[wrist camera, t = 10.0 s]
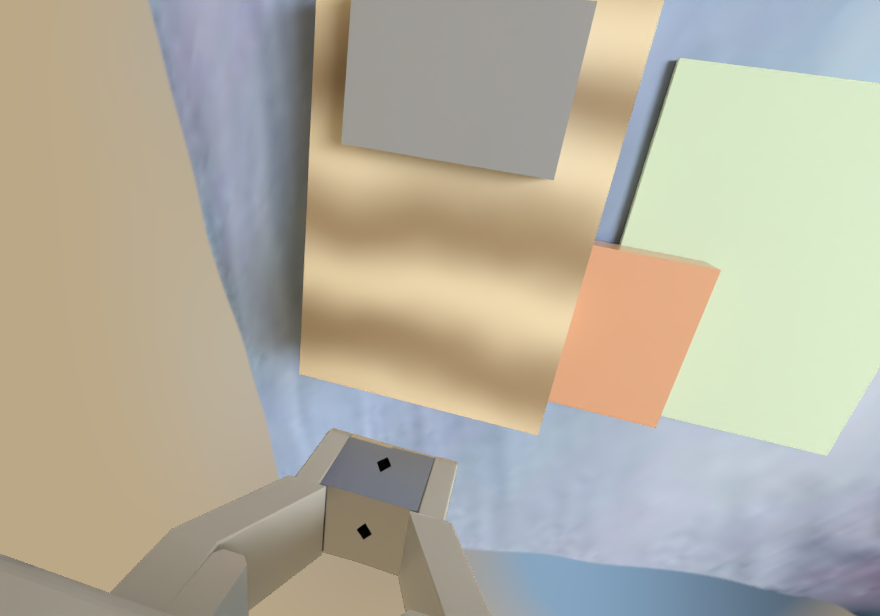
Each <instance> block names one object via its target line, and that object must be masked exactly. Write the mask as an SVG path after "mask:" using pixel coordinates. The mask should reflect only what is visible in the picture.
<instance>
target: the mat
mask: <svg viewBox="0 0 880 616" xmlns="http://www.w3.org/2000/svg"><path fill="white" fill-rule="evenodd" d="M619 245H623V246H628V247H634V248H639V249H644V250H649V251H654V252H659V253H664V254H670V255H675V256H680V257H685V258H690V259H695V260H700V261H705V262H707V263H709V264H711V265H712V266H714V267H716V268H718V269H720V270H721V272H720V274H719V277H718V279H717V281H716V284H715V286H714V289H713V291H712V293H711V296H710V298H709V301H708V303H707V305H706V308H705V310H704V313H703V315H702V318H701V320H700V322H699V325H698V327H697V330H696V332H695V334H694V337H693V339H692V342H691V344H690V346H689V349H688V351H687V354H686V356H685V359H684V361H683V363H682V366H681V368H680V371H679V373H678V375H677V378H676V380H675V383H674V385H673V387H672V390H671V392H670V395H669V397H668V400H667V402H666V404H665V407H664V409H663V412H662V414H661V416H664V417H668V418H672V419H676V420H680V421H685V422H689V423H693V424H697V425H701V426H705V427H709V428H714V429H718V430H722V431H726V432H730V433H734V434H738V435H743V436H747V437H751V438H755V439H759V440H763V441H768V442H772V443H776V444H780V445H784V446H788V447H792V448H797V449H801V450H805V451H809V452H813V453H817V454H821V455H826V456H827V455H828V453H829V451H830V450H831V448H832V446H833V445H834V443H835V441H836V440H837V438H838V436H839V435H840V433H841V431H842V430H843V428H844V426H845V425H846V423H847V421H848V420H849V418H850V416H851V415H852V413H853V411H854V410H855V408H856V406H857V404H858V403H859V401H860V399H861V398H862V396H863V394H864V393H865V391H866V389H867V388H868V386H869V384H870V383H871V381H872V379H873V378H874V376H875V374H876V373H877V371H878V369H879V368H880V83H873V82H865V81H857V80H849V79H842V78H834V77H826V76H818V75H810V74H802V73H794V72H786V71H779V70H771V69H763V68H755V67H747V66H739V65H731V64H724V63H716V62H708V61H700V60H692V59H684V58H679V59H678V60H677V61H676V64H675V68H674V71H673V74H672V77H671V80H670V83H669V87H668V90H667V93H666V96H665V99H664V103H663V106H662V109H661V112H660V115H659V119H658V122H657V125H656V128H655V131H654V135H653V138H652V141H651V144H650V147H649V151H648V154H647V157H646V160H645V163H644V167H643V170H642V173H641V176H640V179H639V183H638V186H637V189H636V192H635V195H634V199H633V202H632V205H631V208H630V211H629V215H628V218H627V221H626V224H625V227H624V231H623V234H622V237H621V240H620V243H619Z"/></svg>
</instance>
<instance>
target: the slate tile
mask: <svg viewBox="0 0 880 616" xmlns="http://www.w3.org/2000/svg"><path fill="white" fill-rule="evenodd" d="M596 5H597V1H590V0H351V11H350V25H349V39H348V53H347V68H346V82H345V96H344V111H343V125H342V139H341V144H346V145H352V146H358V147H364V148H369V149H375V150H381V151H387V152H393V153H398V154H404V155H410V156H416V157H422V158H428V159H433V160H439V161H445V162H451V163H457V164H462V165H468V166H474V167H480V168H486V169H491V170H497V171H503V172H509V173H515V174H520V175H526V176H532V177H538V178H544V179H549V180H554V177H555V173H556V169H557V165H558V161H559V157H560V153H561V149H562V144H563V140H564V136H565V132H566V128H567V124H568V120H569V116H570V112H571V107H572V103H573V99H574V95H575V91H576V87H577V83H578V79H579V75H580V71H581V66H582V62H583V58H584V54H585V50H586V46H587V42H588V38H589V34H590V30H591V25H592V21H593V17H594V13H595V9H596Z"/></svg>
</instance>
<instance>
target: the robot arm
mask: <svg viewBox="0 0 880 616" xmlns="http://www.w3.org/2000/svg"><path fill="white" fill-rule="evenodd" d="M457 467H458V463H457V462H456V461H452V460H448V459H444V458H440V457H434V456H431V455H427V454H423V453H419V452H415V451H412V450H408V449H404V448H400V447H397V446H393V445H389V444H386V443H383V442H379V441H376V440H373V439H369V438H366V437H363V436H359V435H356V434H351V433H348V432H344V431H341V430H338V429H335V428H333V429H332V430H330V431H329V432H328V433H327V434H326V435H325V437H324V438H323V440H322V441H321V442H320V444H319V445H318V446H317V448H316V449H315V450H314V452H313V453H312V454H311V456H310V457H309V459H308V460H307V461H306V463H305V464H304V465H303V467H302V468H301V469H300V471H299V472H298V474H297V475H296V476H295V477H293V476H289V475H288V476H286V477H284V478H282V479H279V480H277V481H275V482H273V483H271V484H269V485H266V486H264V487H262V488H260V489H258V490H255V491H253V492H251V493H249V494H247V495H245V496H242V497H240V498H238V499H236V500H234V501H231V502H229V503H227V504H225V505H223V506H220V507H218V508H216V509H214V510H212V511H210V512H207V513H205V514H203V515H201V516H199V517H196V518H195V519H192V520H190V521H188V522H185V523H183V524H181V525H179V526H177V527H175V528H172V529H171V530H170V531H169V532H168V533H167V534H166V535H165V536H164V537H163V538H162V539H161V540H160V541H159V542H158V543H157V544H156V545H155V546H154V548H153V549H152V550H151V551H150V552H149V553H148V554H147V555H146V556H145V557H144V558H143V559H142V560H141V561H140V562H139V563H138V564H137V565H136V566H135V567H134V568H133V569H132V570H131V571H130V572H129V574H127V575H126V577H125V578H124V579H123V580H122V581H121V582H120V583H119V584H118V585H117V586H116V587H115V588H114V589H113V590H112V591H111V592H110V593H109V592H106V591H103V590H100V589H97V588H95V587H92V586H89V585H86V584H83V583H81V582H78V581H75V580H72V579H70V578H67V577H64V576H61V575H58V574H56V573H53V572H50V571H47V570H44V569H42V568H39V567H36V566H33V565H30V564H28V563H25V562H22V561H19V560H16V559H14V558H11V557H8V556H5V555H2V554H0V616H248V611H249V610H250V609H251V608H253V607H254V606H255V605H257V604H258V603H259V602H261V601H262V600H263V599H265V598H266V597H267V596H268V595H270V594H271V593H272V592H274V591H275V590H276V589H278V588H279V587H280V586H281V585H283V584H284V583H285V582H287V581H288V580H289V579H291V578H292V577H293V576H295V575H296V574H297V573H298V572H300V571H301V570H302V569H303V568H305V567H306V566H307V565H309V564H310V563H311V562H313V561H314V560H315V559H317V558H318V557H319V556H321V554H322V552H324V553H327V554H331V555H334V556H338V557H341V558H345V559H348V560H352V561H355V562H359V563H362V564H365V565H368V566H371V567H374V568H376V569H379V570H382V571H385V572H388V573H391V574H394V575H397V576H399V584H400V588H401V593H402V598H403V603H404V608H405V613H404V614H402V615H401V616H491V615H490V612H489V610H488V608H487V605H486V603H485V601H484V598H483V596H482V594H481V591H480V589H479V587H478V584H477V582H476V580H475V578H474V575H473V573H472V570H471V568H470V566H469V563H468V561H467V558H466V556H465V554H464V551H463V549H462V547H461V544H460V542H459V540H458V537H457V535H456V533H455V530H454V528H453V526H452V523H450V522H446V518H447V513H448V508H449V504H450V499H451V495H452V490H453V486H454V481H455V476H456V472H457Z"/></svg>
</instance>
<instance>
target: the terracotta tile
mask: <svg viewBox="0 0 880 616" xmlns="http://www.w3.org/2000/svg"><path fill="white" fill-rule="evenodd" d="M720 272H721V270H720V269H718V268H716V267H714V266H712V265H711V264H709V263H707V262H705V261H700V260H695V259H690V258H685V257H680V256H675V255H670V254H664V253H659V252H654V251H649V250H644V249H639V248H634V247H628V246H623V245H618V244H613V243H608V242H603V241H598V240H595V241H594V244H593V247H592V251H591V254H590V258H589V261H588V265H587V268H586V271H585V275H584V278H583V282H582V285H581V289H580V292H579V296H578V299H577V302H576V306H575V309H574V313H573V316H572V320H571V323H570V326H569V330H568V333H567V337H566V340H565V344H564V347H563V351H562V354H561V357H560V361H559V364H558V368H557V371H556V375H555V378H554V382H553V385H552V388H551V392H550V395H549V399H548V401H550V402H554V403H558V404H562V405H566V406H570V407H574V408H578V409H582V410H586V411H590V412H594V413H598V414H602V415H606V416H610V417H614V418H618V419H622V420H626V421H630V422H634V423H638V424H642V425H646V426H650V427H654V428H656V426H657V424H658V421H659V419H660V416H661V414H662V412H663V409H664V407H665V404H666V402H667V400H668V397H669V395H670V392H671V390H672V387H673V385H674V383H675V380H676V378H677V375H678V373H679V371H680V368H681V366H682V363H683V361H684V359H685V356H686V354H687V351H688V349H689V346H690V344H691V342H692V339H693V337H694V334H695V332H696V330H697V327H698V325H699V322H700V320H701V318H702V315H703V313H704V310H705V308H706V305H707V303H708V301H709V298H710V296H711V293H712V291H713V289H714V286H715V284H716V281H717V279H718V277H719V274H720Z"/></svg>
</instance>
